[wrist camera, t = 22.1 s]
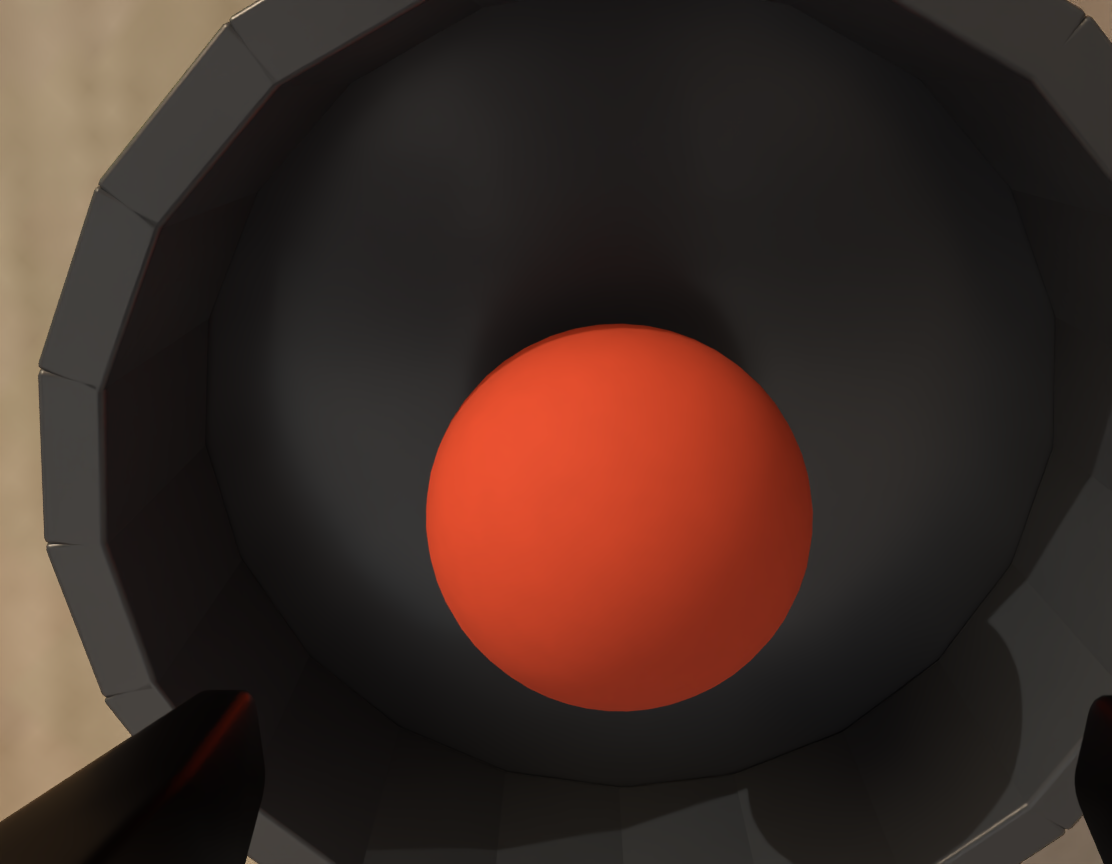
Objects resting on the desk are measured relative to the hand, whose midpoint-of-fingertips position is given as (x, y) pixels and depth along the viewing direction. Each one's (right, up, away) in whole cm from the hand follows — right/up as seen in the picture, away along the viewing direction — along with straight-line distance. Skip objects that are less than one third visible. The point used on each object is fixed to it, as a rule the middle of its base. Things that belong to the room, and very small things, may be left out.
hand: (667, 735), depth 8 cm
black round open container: (0, +3, +7) cm, 8 cm away
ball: (0, +1, +4) cm, 5 cm away
